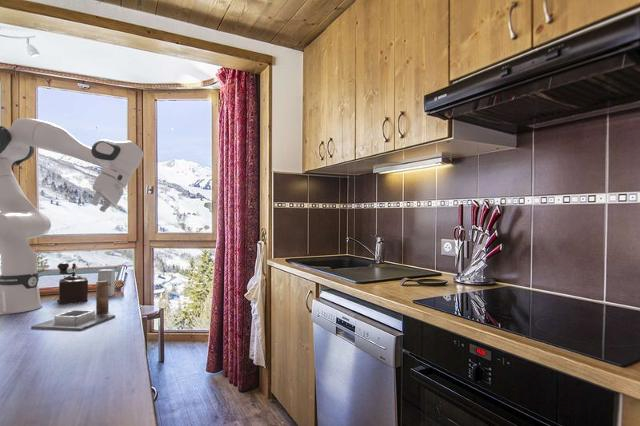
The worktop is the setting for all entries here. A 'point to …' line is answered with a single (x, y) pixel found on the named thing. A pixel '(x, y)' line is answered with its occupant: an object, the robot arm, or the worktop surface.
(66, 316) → the plate
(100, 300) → the walnut peg
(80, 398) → the worktop surface
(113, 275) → the skincare box
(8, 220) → the robot arm
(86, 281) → the manual coffee grinder
